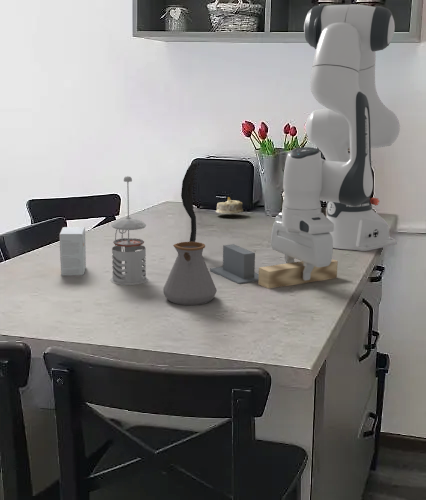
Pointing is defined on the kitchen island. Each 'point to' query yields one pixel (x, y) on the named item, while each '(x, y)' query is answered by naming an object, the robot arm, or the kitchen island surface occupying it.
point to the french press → (128, 251)
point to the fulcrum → (237, 265)
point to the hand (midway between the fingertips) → (298, 276)
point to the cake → (229, 207)
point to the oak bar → (294, 274)
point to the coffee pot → (189, 276)
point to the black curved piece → (189, 197)
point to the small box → (72, 250)
